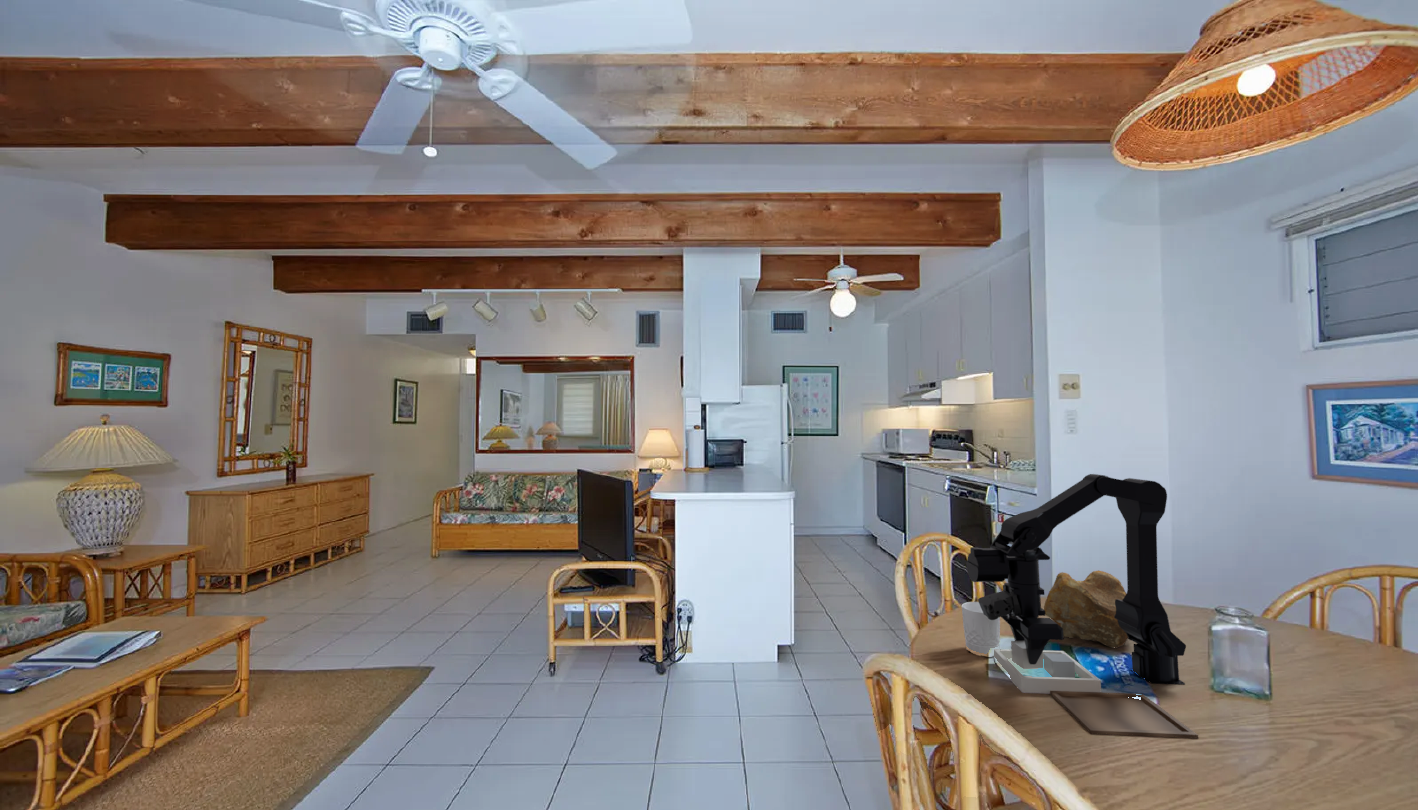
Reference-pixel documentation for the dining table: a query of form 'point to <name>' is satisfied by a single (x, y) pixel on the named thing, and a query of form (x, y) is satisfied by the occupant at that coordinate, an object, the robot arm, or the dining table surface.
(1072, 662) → the grey block
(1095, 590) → the rough brown rock
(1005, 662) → the cream dish
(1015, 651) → the small grey cuboid
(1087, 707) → the walnut tray
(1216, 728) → the dining table surface
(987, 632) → the white cup
